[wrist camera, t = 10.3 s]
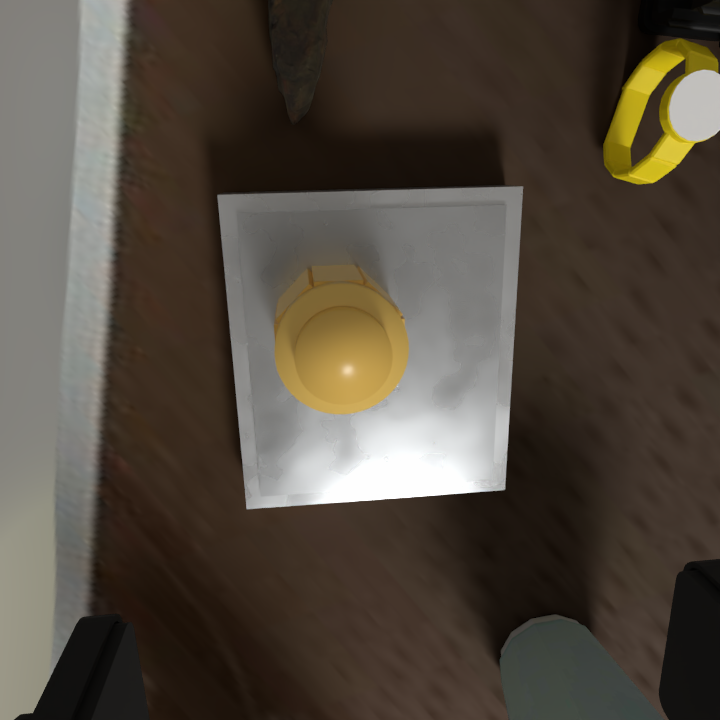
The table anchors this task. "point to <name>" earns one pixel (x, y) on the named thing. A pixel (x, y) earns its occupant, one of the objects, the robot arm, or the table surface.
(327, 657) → the table surface
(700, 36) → the end cap
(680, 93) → the watch
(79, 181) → the table surface
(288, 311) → the wire nut
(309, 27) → the dark brown wood branch
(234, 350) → the plate
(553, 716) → the disposable coffee cup
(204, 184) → the table surface
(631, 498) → the table surface
